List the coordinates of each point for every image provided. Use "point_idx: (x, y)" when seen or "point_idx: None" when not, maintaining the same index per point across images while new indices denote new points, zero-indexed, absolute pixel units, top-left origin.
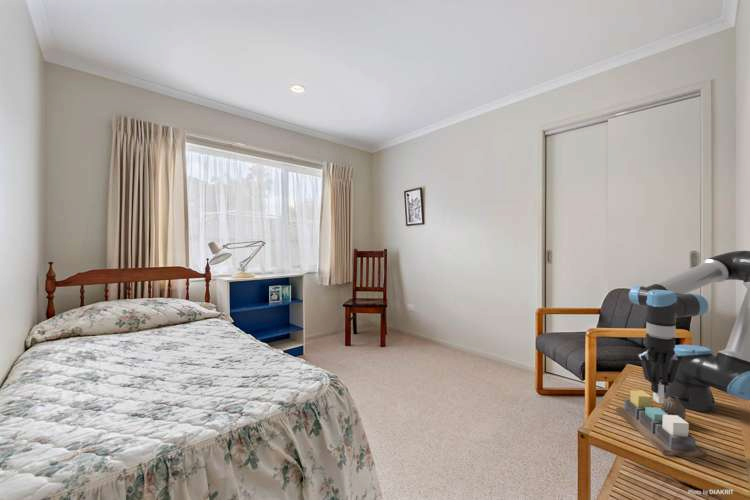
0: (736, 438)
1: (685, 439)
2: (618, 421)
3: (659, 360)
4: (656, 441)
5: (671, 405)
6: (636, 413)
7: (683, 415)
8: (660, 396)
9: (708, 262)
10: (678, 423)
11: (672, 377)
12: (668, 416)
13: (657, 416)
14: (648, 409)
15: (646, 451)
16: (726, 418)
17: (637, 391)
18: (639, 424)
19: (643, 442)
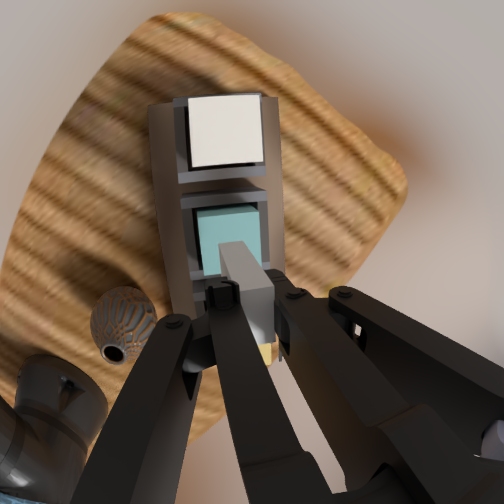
0: (18, 241)
1: (209, 96)
2: (307, 259)
3: (447, 474)
4: (271, 138)
5: (131, 322)
6: None
7: (104, 295)
8: (242, 254)
9: None
10: (235, 95)
11: (162, 349)
12: (245, 148)
13: (243, 211)
14: (260, 249)
15: (311, 111)
16: (11, 332)
17: None
18: (269, 234)
19: (296, 153)
